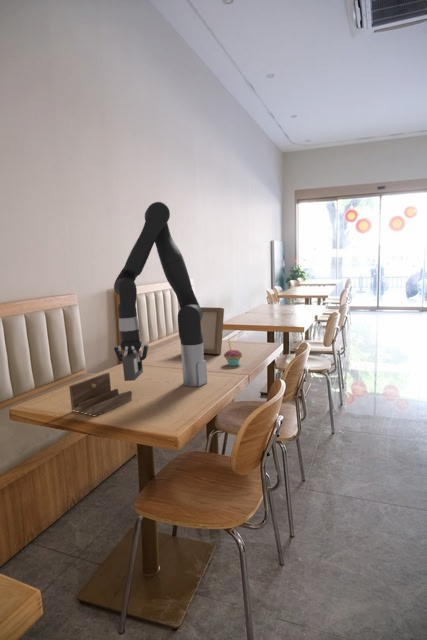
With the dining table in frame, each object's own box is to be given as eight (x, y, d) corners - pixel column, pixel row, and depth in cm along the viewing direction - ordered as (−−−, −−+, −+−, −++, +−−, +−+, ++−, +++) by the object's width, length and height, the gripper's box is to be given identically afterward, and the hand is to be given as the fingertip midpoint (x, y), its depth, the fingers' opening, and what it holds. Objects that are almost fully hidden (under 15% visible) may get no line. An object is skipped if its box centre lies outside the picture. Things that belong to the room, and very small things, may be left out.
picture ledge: (131, 400, 159) (129, 376, 158) (95, 416, 144) (92, 390, 143) (109, 396, 166) (107, 372, 164) (72, 411, 151) (69, 385, 149)
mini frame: (143, 371, 175) (141, 350, 173) (135, 380, 163) (132, 357, 161) (133, 372, 175) (131, 351, 174) (124, 380, 163) (122, 358, 162)
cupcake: (222, 366, 201) (220, 341, 200) (228, 361, 209) (227, 338, 207) (239, 367, 198) (238, 342, 196) (244, 362, 206) (243, 338, 204)
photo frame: (216, 355, 222) (214, 308, 219) (183, 353, 234) (180, 308, 231) (230, 350, 235) (228, 305, 232) (198, 347, 246) (195, 305, 243)
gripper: (149, 325, 169) (153, 367, 171) (115, 328, 171) (119, 369, 173) (144, 329, 162) (148, 372, 164) (108, 331, 163) (113, 374, 166)
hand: (133, 370), depth 169 cm, fingers closed on mini frame, 4 cm apart
